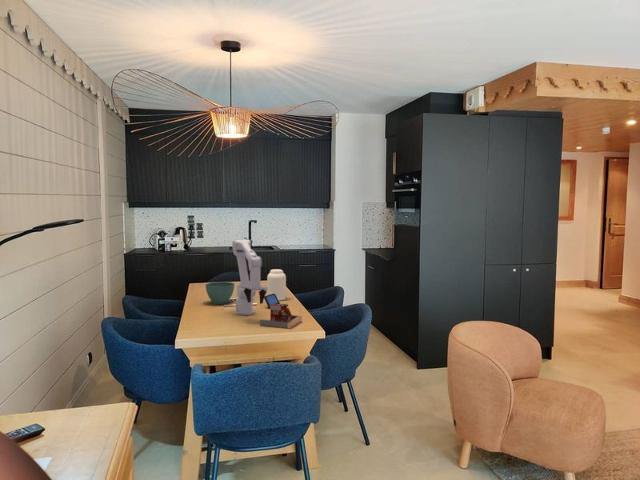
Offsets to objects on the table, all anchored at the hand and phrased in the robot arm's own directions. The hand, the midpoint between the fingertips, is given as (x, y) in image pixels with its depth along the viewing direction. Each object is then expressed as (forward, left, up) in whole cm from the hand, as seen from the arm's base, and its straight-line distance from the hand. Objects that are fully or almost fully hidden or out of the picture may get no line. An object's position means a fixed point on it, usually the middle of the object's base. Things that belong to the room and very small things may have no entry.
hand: (255, 302), depth 267 cm
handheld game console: (-3, +33, -10) cm, 35 cm away
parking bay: (+17, -3, -9) cm, 19 cm away
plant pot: (-41, +31, -10) cm, 52 cm away
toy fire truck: (+17, -3, -10) cm, 20 cm away
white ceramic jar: (-12, +55, -10) cm, 57 cm away
